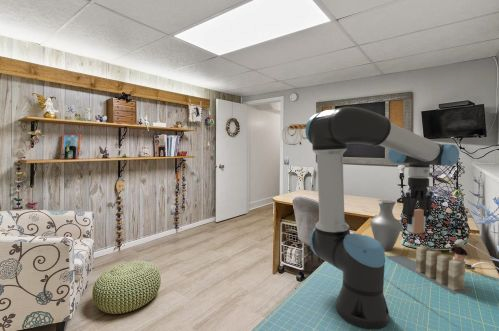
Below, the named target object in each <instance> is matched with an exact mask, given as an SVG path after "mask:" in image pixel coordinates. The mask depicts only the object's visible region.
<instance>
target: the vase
mask: <svg viewBox="0 0 499 331" xmlns="http://www.w3.org/2000/svg"><path fill="white" fill-rule="evenodd" d="M377 203H378V205H379V210H380V211H379V213H378V214H377V216H374V217H373V218H371V219H370V227H371V232H372V236H373V238H374V239H375V240H377V241H378V242H380V243H381V244H382V246H383V247H384V251H392V250H393V248H394V246H395V244H396V243H397V241H398V238H399V235H400V233H401V231H402V228H403V225H402V222H400V220H398V219H397V218H396V217H395V215H394V213H393V209H394V207H395V204H396V203H397V201H395V200H392V199H377Z"/></svg>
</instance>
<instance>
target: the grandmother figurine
mask: <svg viewBox="0 0 499 331" xmlns="http://www.w3.org/2000/svg"><path fill="white" fill-rule="evenodd" d="M465 243H466V242H465V240H464V239H461V238H459V239H456V240H455V242H454V245H456V246H452V247H451V248H450V250H449V253H450V254H453V252H454V257H453V260H462V261H465V260H467V261H468V260H470V259H469V258H470V257H469V254H468V252H467V250H466V249H464V246H465Z"/></svg>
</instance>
